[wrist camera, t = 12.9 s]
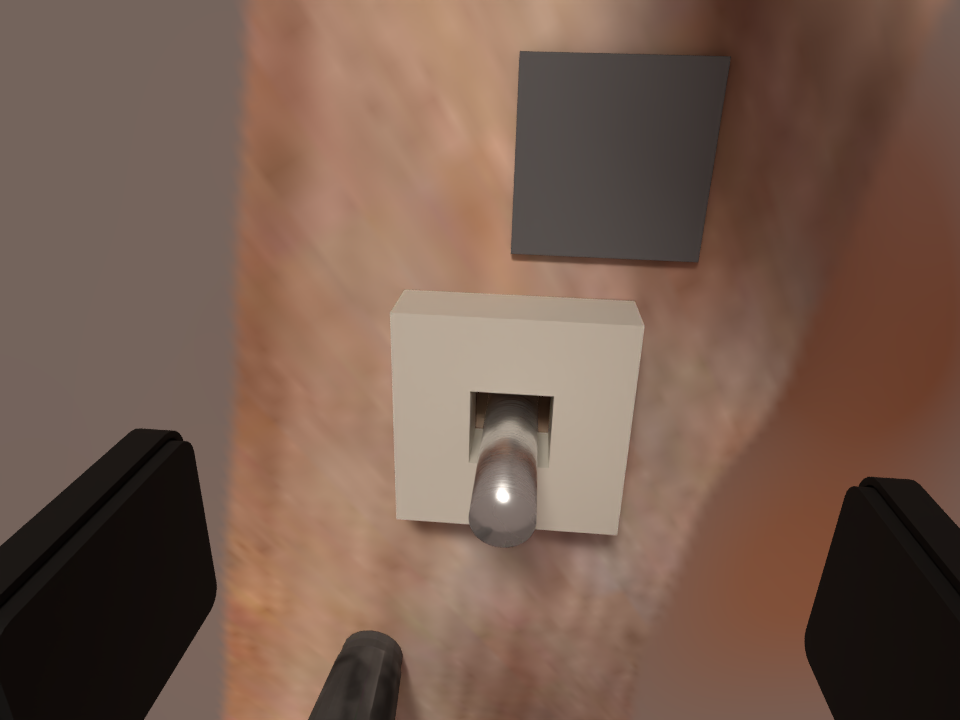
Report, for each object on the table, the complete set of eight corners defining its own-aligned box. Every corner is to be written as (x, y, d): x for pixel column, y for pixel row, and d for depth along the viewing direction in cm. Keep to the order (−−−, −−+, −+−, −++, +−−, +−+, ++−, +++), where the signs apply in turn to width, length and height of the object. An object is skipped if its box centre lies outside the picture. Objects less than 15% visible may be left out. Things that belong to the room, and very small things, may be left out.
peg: (489, 373, 40) (469, 489, 29) (539, 376, 40) (538, 494, 29) (487, 417, 41) (467, 544, 30) (536, 420, 41) (534, 550, 30)
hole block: (404, 289, 38) (390, 312, 35) (634, 301, 37) (644, 326, 34) (408, 481, 43) (396, 518, 40) (610, 495, 43) (616, 535, 39)
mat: (520, 51, 33) (519, 51, 32) (728, 56, 32) (731, 56, 32) (511, 251, 37) (510, 253, 36) (696, 259, 36) (698, 262, 36)
